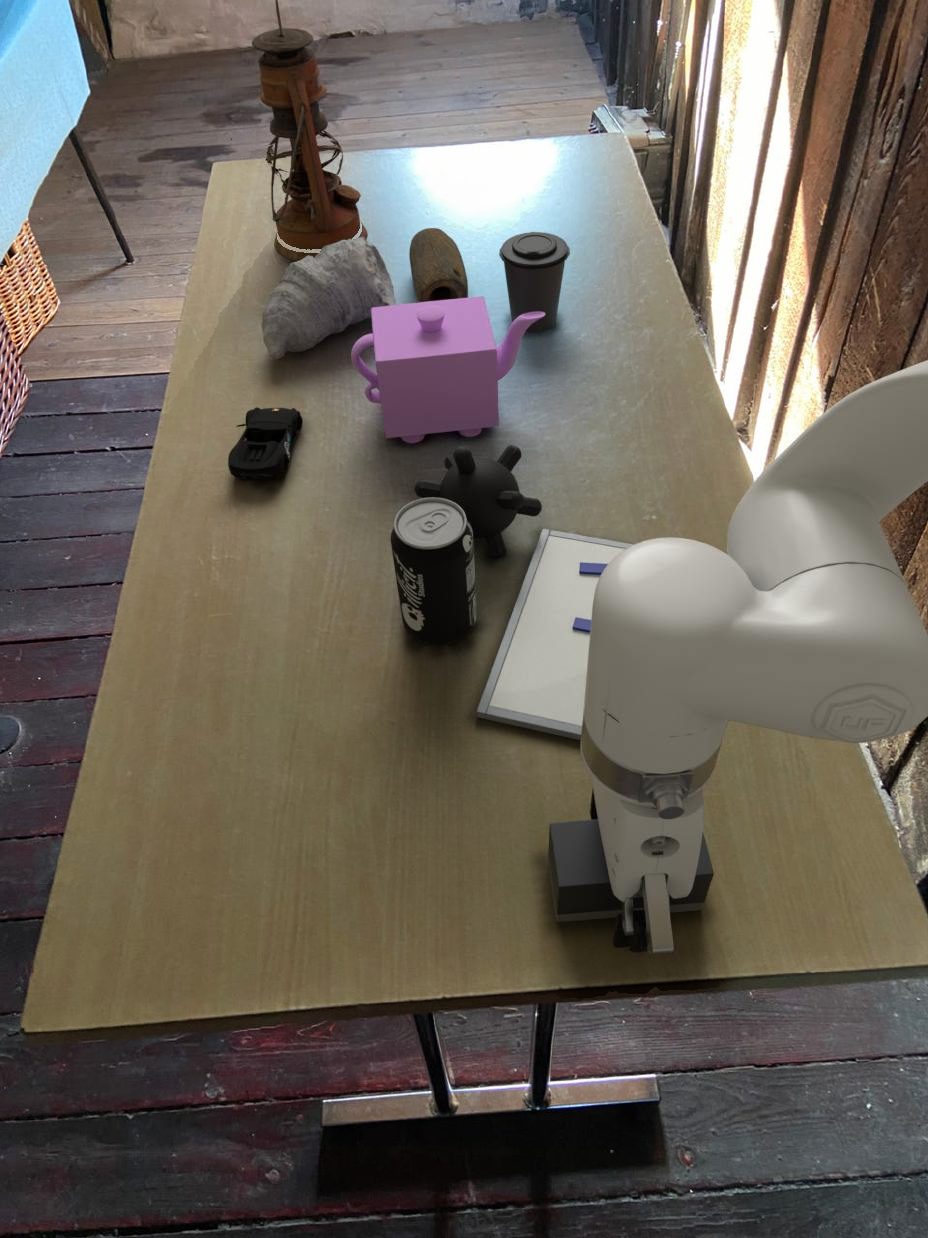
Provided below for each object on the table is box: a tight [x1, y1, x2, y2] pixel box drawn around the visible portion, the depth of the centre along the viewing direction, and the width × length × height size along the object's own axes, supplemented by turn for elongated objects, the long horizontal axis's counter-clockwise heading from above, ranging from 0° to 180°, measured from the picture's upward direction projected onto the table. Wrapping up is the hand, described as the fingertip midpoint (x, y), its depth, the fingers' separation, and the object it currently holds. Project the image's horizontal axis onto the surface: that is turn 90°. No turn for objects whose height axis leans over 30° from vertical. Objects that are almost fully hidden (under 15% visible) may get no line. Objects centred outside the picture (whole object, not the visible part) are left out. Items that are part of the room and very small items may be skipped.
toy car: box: [227, 407, 303, 481], centre depth 98 cm, size 8×12×4 cm
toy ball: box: [414, 444, 543, 560], centre depth 86 cm, size 11×11×12 cm
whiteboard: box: [476, 528, 636, 741], centre depth 80 cm, size 16×22×1 cm
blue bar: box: [579, 562, 608, 575], centre depth 84 cm, size 5×1×1 cm, turn 83°
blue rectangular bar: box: [572, 617, 591, 633], centre depth 80 cm, size 5×1×1 cm, turn 73°
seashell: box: [261, 237, 397, 360], centre depth 110 cm, size 16×15×10 cm
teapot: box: [350, 296, 545, 444], centre depth 97 cm, size 20×10×12 cm, turn 96°
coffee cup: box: [498, 231, 571, 334], centre depth 110 cm, size 8×8×10 cm
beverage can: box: [390, 497, 478, 646], centre depth 78 cm, size 7×7×12 cm
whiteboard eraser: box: [547, 819, 715, 923], centre depth 63 cm, size 10×5×6 cm, turn 94°
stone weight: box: [408, 227, 469, 303], centre depth 116 cm, size 15×7×7 cm, turn 11°
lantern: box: [251, 0, 369, 262], centre depth 119 cm, size 17×13×30 cm
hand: (623, 876), depth 64 cm, fingers open, 8 cm apart
